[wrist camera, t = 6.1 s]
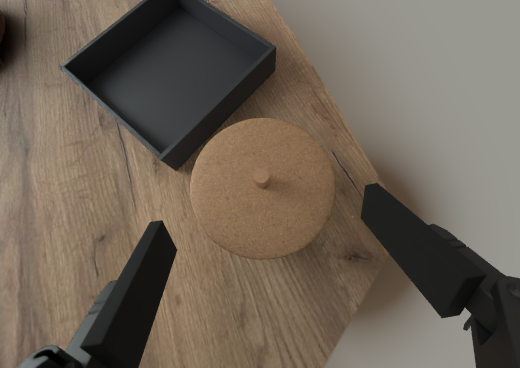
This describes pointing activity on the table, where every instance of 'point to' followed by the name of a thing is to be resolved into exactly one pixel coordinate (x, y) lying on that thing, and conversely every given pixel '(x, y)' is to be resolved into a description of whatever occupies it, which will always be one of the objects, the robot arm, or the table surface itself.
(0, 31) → the scroll
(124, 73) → the tray
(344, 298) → the table surface
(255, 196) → the trinket box
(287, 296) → the table surface
